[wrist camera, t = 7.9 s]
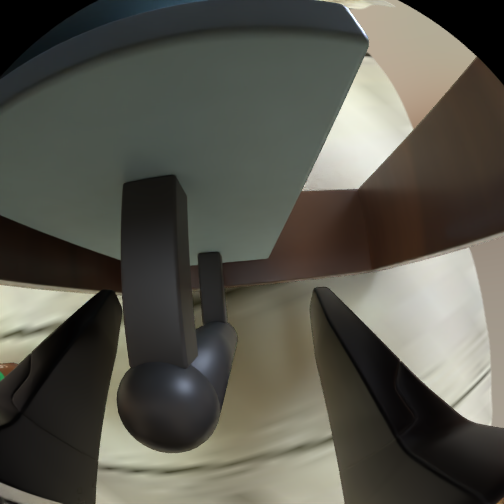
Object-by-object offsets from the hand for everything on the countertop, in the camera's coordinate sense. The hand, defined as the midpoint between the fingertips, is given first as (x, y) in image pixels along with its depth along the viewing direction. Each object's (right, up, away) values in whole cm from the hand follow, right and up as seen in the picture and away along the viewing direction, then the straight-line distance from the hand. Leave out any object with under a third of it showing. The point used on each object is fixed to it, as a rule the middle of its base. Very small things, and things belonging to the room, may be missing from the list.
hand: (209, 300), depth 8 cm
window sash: (-1, -1, +4) cm, 4 cm away
